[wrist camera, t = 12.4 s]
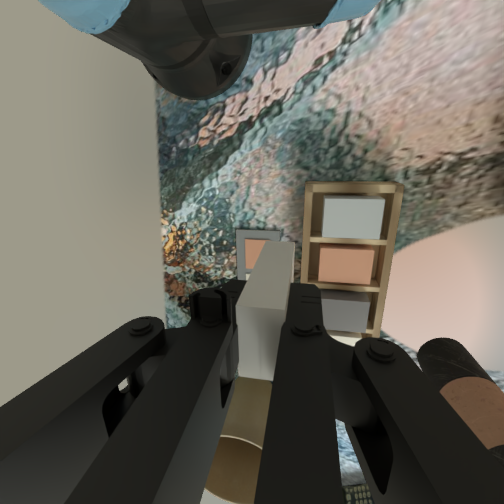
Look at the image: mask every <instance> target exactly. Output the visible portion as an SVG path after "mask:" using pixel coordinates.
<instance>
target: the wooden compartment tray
mask: <svg viewBox="0 0 504 504" xmlns="http://www.w3.org/2000/svg"><path fill="white" fill-rule="evenodd" d="M404 186H405V185H403V184H401V183H398V182H378V181H306V182H305V200H304V221H303V241H302V262H301V282H300V283H305V284H315V285H316V286H317V287H318V288H319V289H329V290H343V291H357V292H366V293H367V296H368V298H369V301H370V307H369V314H368V320H367V327H366V333H361V336H362V338H367V337H375V338H379V335H380V329H381V323H382V317H383V311H384V305H385V299H386V293H387V287H388V281H389V275H390V269H391V263H392V257H393V251H394V245H395V240H396V234H397V228H398V222H399V216H400V210H401V204H402V198H403V192H404ZM324 195H358V196H380V197H382V198H384V199H385V204H384V211H383V218H382V225H381V232H380V238H379V239H354V238H329V237H322V233H321V227H322V213H323V199H324ZM320 242H322V243H346V244H369V245H371V246H372V247H373V249H374V250H375V252H374V259H373V266H372V273H371V280H370V284H355V283H340V282H325V281H318V260H319V246H320Z"/></svg>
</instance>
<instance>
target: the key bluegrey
mask: <svg viewBox="0 0 504 504" xmlns="http://www.w3.org/2000/svg"><path fill="white" fill-rule="evenodd" d="M384 204H385V199H384V198H382V197H380V196H358V195H324V199H323V213H322V227H321V233H322V237H329V238H354V239H379V238H380V232H381V225H382V218H383V211H384Z"/></svg>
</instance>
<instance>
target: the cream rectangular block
mask: <svg viewBox="0 0 504 504" xmlns="http://www.w3.org/2000/svg"><path fill="white" fill-rule="evenodd" d="M326 331H327V333H328V334H329V335H330V336H331V337H332V338H334V339H335V340H337V341H339V342H342V343H344V344H347V345H351V346H355V343H356V342H357V341H359V340H360V339H362V336H361V333H358V332H348V331H337V330H327V329H326Z"/></svg>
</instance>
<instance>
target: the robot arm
mask: <svg viewBox="0 0 504 504" xmlns="http://www.w3.org/2000/svg"><path fill="white" fill-rule="evenodd" d="M38 1H39V2H40V3H41V4H43V5H44V6H45V7H46V8H48V9H49V10H51V11H52V12H54V13H55V14H56V15H58V16H59V17H61V18H62V19H64V20H65V21H66V22H67V23H68V24H70V25H71V26H72V27H73V28H76V29H78V30H79V31H81V32H85V33H89V34H91V35H93V36H95V37H97V38H99V39H101V40H102V41H104V42H106V43H108V44H110V45H112V46H114V47H116V48H118V49H120V50H122V51H124V52H126V53H127V54H129V55H131V56H133V57H135V58H137V59H139V60H141V62H142V63H143V64H144V66H145V67H146V69H147V71H148V72H149V74H150V75H151V76H152V77H153V79H154V80H155V81H156V82H157V83H158V84H160V85H161V86H162V87H163V88H165V89H166V90H168V91H169V92H171V93H173V94H175V95H178V96H180V97H183V98H186V99H190V100H206V99H210V98H213V97H216V96H218V95H220V94H222V93H223V92H225V91H226V90H227V89H228V88H230V87H231V86H232V85H233V84H234V82H235V81H236V80H237V79H238V77H239V76H240V74H241V73H242V71H243V69H244V67H245V65H246V63H247V60H248V57H249V54H250V50H251V45H252V35H253V34H255V33H263V32H270V31H278V30H285V29H293V28H300V27H307V26H313V28H314V29H318V28H323V27H324V26H326V25H327V24H329V23H334V22H339V21H345V20H350V19H355V18H359V17H361V16H364V15H366V14H367V13H369V12H370V11H371V10H372V9H373V8H374V7H375V6H376V5H377V4H378V3H379V2H380V1H381V0H38ZM294 253H295V242H281V241H266V242H265V244H264V246H263V248H262V250H261V252H260V255H259V257H258V259H257V261H256V263H255V265H254V267H253V270H252V272H251V274H250V276H249V278H248V280H234V279H232V280H230V281H228V282H227V283H225V284H224V285H223V287H222V288H204V289H200V290H197V291H195V292H193V293H192V294H190V295H189V302H190V312H191V320H190V321H189V323H188V324H187V326H185V327H180V328H170V329H165V327H164V323H163V322H162V320H161V319H159V318H157V317H151V316H146V317H139V318H137V319H133V320H131V321H129V322H127V323H125V324H124V325H122V326H121V327H119V328H118V329H116V330H115V331H113V332H112V333H110V334H109V335H107V336H106V337H104V338H103V339H101V340H100V341H98V342H97V343H95V344H94V345H92V346H91V347H89V348H88V349H86V350H85V351H84V352H82V353H80V354H79V355H77V356H76V357H74V358H73V359H71V360H70V361H68V362H67V363H66V364H64V365H62V366H61V367H59V368H58V369H57V370H55V371H53V372H52V373H50V374H49V375H48V376H46V377H44V378H43V379H42V380H40V381H39V382H37V383H36V384H34V385H33V386H31V387H30V388H28V389H27V390H25V391H24V392H22V393H21V394H19V395H18V396H16V397H15V398H13V399H12V400H10V401H9V402H7V403H6V404H4V405H3V406H1V407H0V504H200V501H201V498H202V494H203V491H204V488H205V484H206V481H207V478H208V475H209V471H210V468H211V465H212V462H213V458H214V455H215V452H216V448H217V445H218V442H219V439H220V435H221V432H222V429H223V425H224V422H225V419H226V416H227V412H228V409H229V406H230V403H231V399H232V396H233V393H234V389H235V372H236V369H237V366H238V376H240V377H248V378H255V379H263V380H270V381H273V384H272V390H271V397H270V403H269V409H268V416H267V422H266V428H265V435H264V441H263V447H262V454H261V460H260V467H259V473H258V479H257V486H256V492H255V498H254V504H344V503H343V493H342V483H341V472H340V462H339V452H338V441H337V431H336V421H335V419H337V420H340V421H342V422H344V423H345V428H346V431H347V434H348V436H349V439H350V441H351V444H352V446H353V449H354V452H355V454H356V457H357V459H358V462H359V464H360V467H361V469H362V472H363V475H364V477H365V480H366V482H367V485H368V487H369V490H370V492H371V495H372V498H373V500H374V503H375V504H504V468H503V467H502V466H501V465H500V463H499V462H498V461H497V460H496V459H495V457H494V456H493V455H492V454H491V453H490V451H489V450H488V449H487V448H486V447H485V446H484V444H483V443H482V442H481V441H480V440H479V438H478V437H477V436H476V435H475V434H474V432H473V431H472V430H471V429H470V428H469V426H468V425H467V424H466V423H465V422H464V421H463V419H462V418H461V417H460V416H459V415H458V413H457V412H456V411H455V410H454V409H453V407H452V406H451V405H450V404H449V403H448V401H447V400H446V399H445V398H444V397H443V396H442V394H441V393H440V392H439V391H438V390H437V388H436V387H435V386H434V385H433V384H432V382H431V381H430V380H429V379H428V378H427V376H426V375H425V374H424V373H423V372H422V371H421V369H420V368H419V367H418V366H417V365H416V363H415V362H414V361H413V360H412V359H411V357H410V356H409V355H408V354H407V353H406V352H405V351H404V350H403V349H402V348H401V347H400V346H398V345H397V344H395V343H393V342H391V341H389V340H385V339H382V338H375V337H367V338H362V339H360V340H359V341H357V342H356V343H355V346H351V345H347V344H344V343H342V342H339V341H337V340H335V339H334V338H332V337H331V336H330V335H329V334H328V333H327V331H326V329H325V326H324V323H323V312H322V300H321V290H320V289H319V288H318V287H317V286H316V285H315V284H305V283H293V279H294ZM125 378H127V382H128V385H127V386H126V387H125V388H124V389H122V390H121V391H119V388H118V385H119V384H120V383H121V382H122V381H123V380H124V379H125Z"/></svg>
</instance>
